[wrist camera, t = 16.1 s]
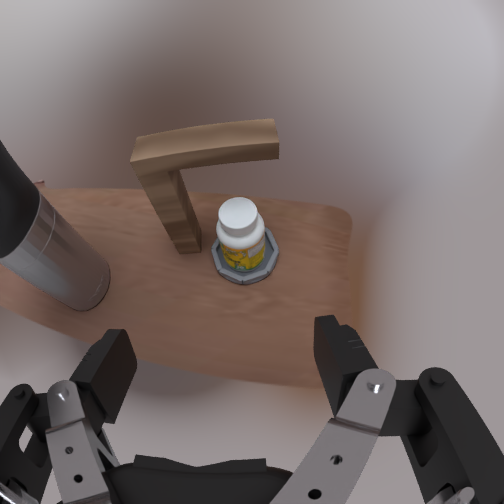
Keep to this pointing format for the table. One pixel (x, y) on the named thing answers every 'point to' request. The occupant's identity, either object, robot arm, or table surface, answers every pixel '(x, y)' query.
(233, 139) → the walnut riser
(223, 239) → the supplement bottle
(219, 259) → the locator ring
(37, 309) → the table surface
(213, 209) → the table surface
